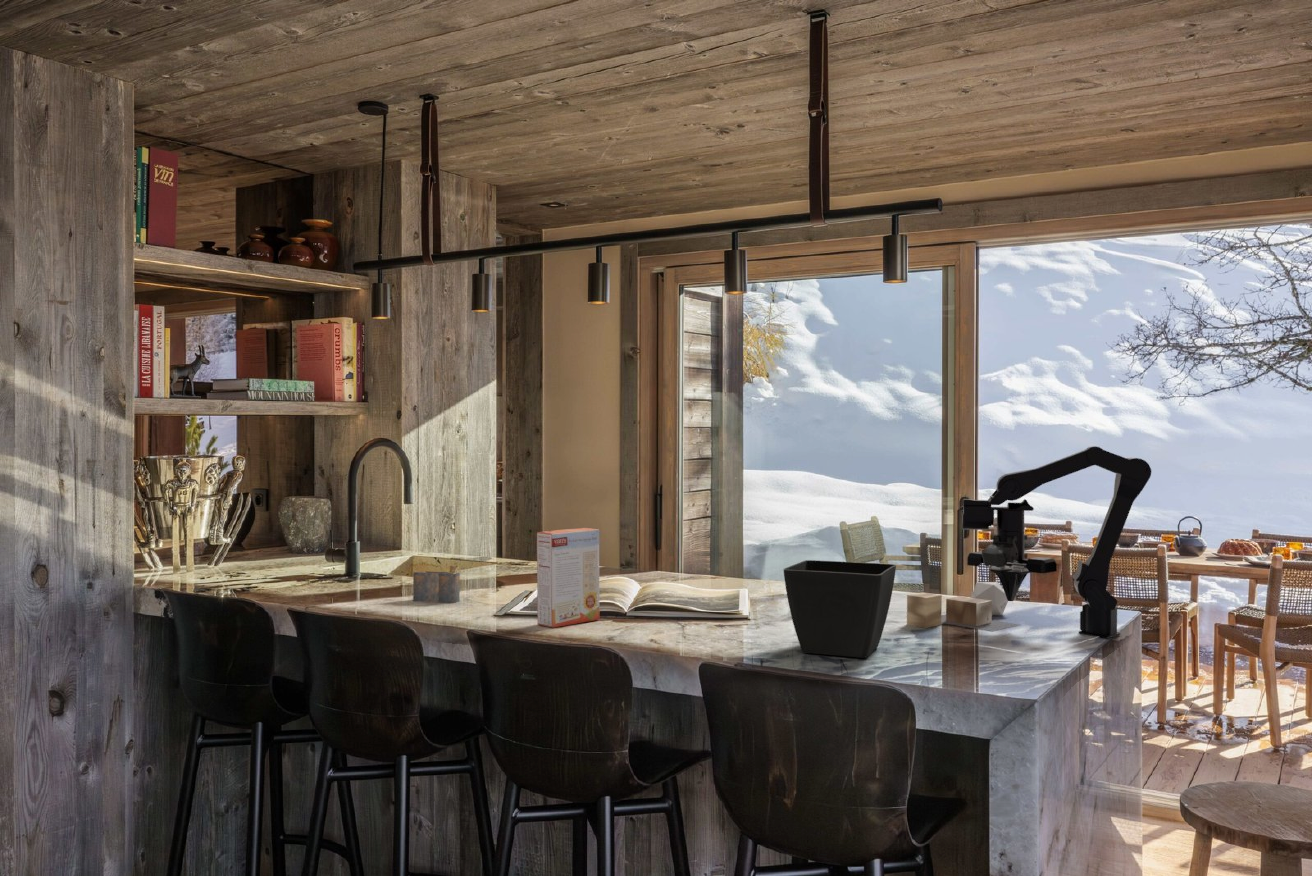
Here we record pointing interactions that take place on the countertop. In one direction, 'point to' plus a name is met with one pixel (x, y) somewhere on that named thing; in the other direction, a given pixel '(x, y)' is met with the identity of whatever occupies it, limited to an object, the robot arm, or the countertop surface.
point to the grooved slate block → (437, 586)
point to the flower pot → (839, 605)
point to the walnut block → (969, 610)
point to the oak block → (924, 609)
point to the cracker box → (567, 576)
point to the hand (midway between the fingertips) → (1010, 601)
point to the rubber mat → (988, 627)
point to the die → (991, 595)
